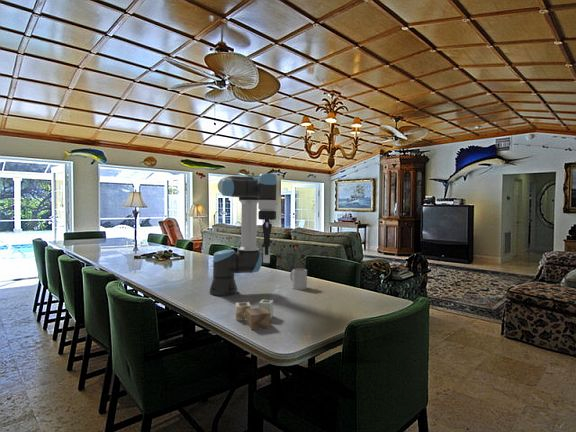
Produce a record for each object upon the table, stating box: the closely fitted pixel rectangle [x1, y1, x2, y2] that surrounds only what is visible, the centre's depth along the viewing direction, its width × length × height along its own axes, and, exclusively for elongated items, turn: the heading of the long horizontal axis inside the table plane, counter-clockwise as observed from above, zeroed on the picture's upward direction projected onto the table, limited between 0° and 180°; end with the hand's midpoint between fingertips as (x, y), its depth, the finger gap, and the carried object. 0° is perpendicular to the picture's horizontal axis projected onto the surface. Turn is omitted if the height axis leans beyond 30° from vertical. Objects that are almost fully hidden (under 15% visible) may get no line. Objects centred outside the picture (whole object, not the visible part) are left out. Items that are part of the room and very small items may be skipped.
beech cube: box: [235, 301, 252, 321], centre depth 148 cm, size 6×6×6 cm
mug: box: [289, 267, 308, 291], centre depth 204 cm, size 12×8×11 cm
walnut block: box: [245, 307, 272, 330], centre depth 140 cm, size 8×8×6 cm
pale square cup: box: [258, 299, 274, 319], centre depth 150 cm, size 5×5×7 cm
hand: (266, 260), depth 145 cm, fingers open, 13 cm apart
